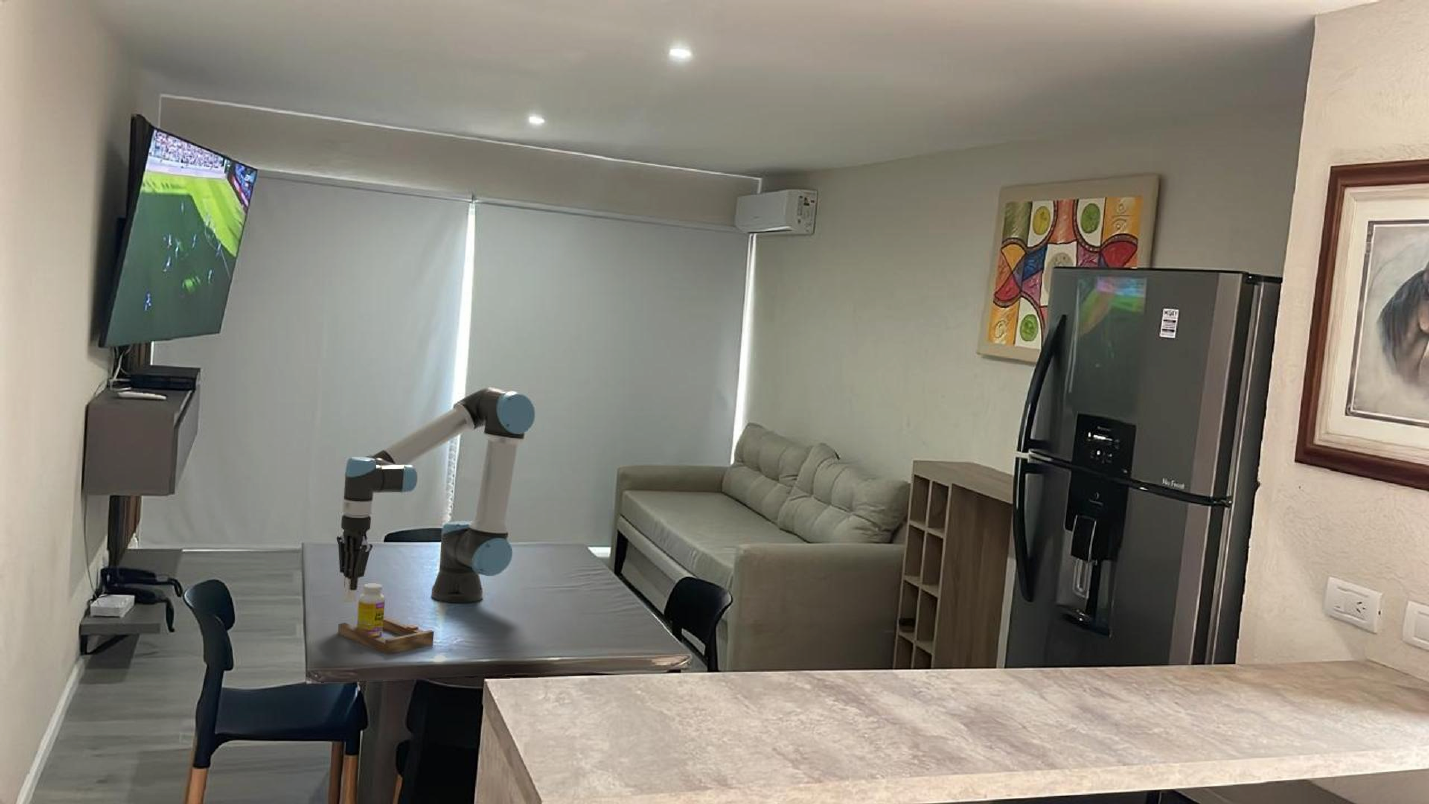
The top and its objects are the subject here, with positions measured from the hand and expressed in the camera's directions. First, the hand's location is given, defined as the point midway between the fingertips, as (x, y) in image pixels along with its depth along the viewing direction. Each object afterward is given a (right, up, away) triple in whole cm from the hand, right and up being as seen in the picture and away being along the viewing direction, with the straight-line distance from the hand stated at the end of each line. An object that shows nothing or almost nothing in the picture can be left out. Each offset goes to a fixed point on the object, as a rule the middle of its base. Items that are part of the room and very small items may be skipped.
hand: (349, 600), depth 306 cm
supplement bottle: (+7, -8, -4) cm, 11 cm away
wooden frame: (+12, -8, -8) cm, 16 cm away
